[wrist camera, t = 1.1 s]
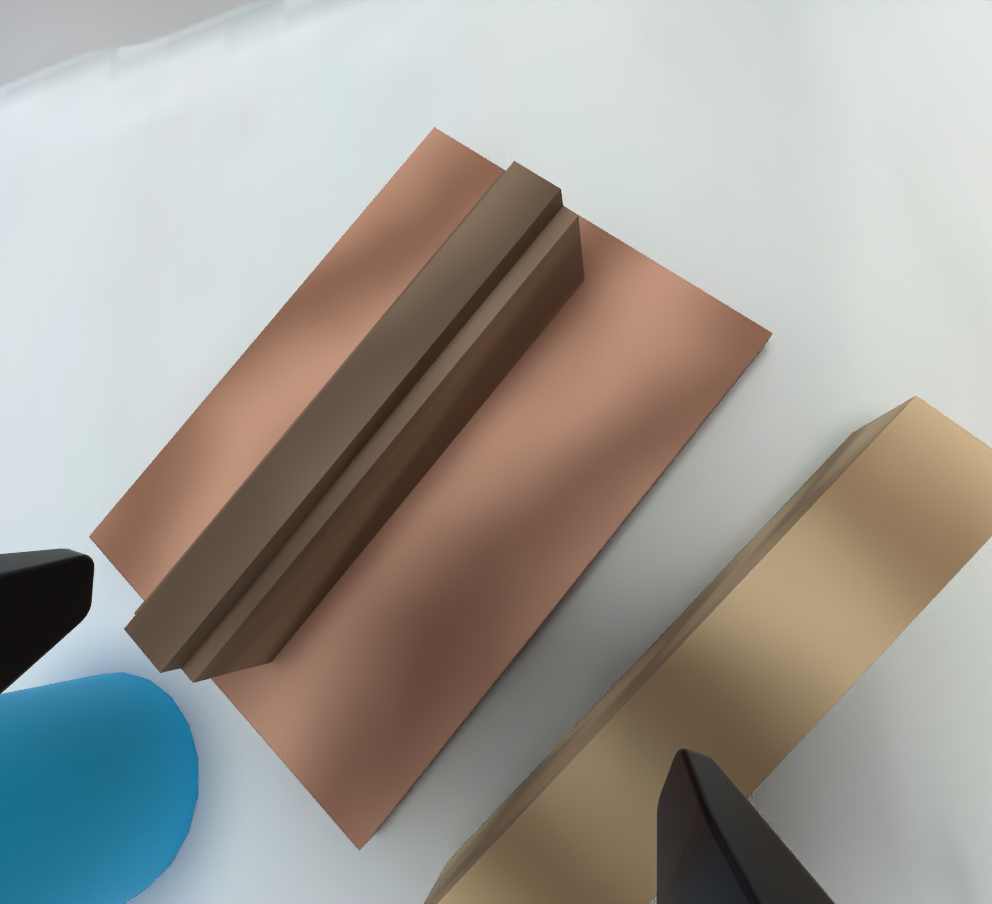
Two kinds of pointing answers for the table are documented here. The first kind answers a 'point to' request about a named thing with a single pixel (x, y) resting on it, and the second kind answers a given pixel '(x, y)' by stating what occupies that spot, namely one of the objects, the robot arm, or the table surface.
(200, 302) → the table surface
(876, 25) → the table surface
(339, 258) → the fulcrum stand
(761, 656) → the oak bar
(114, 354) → the table surface
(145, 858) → the mug
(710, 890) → the robot arm
